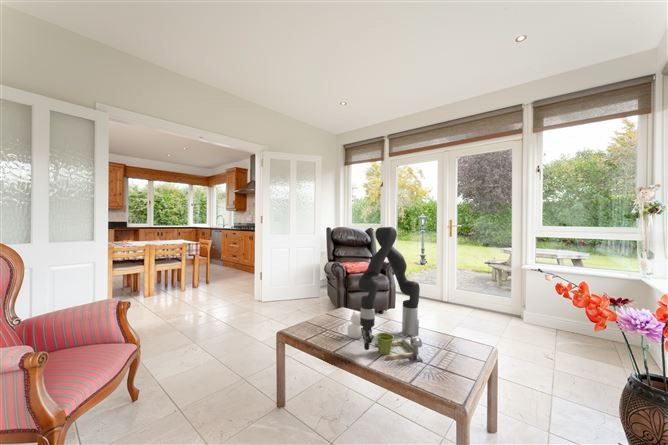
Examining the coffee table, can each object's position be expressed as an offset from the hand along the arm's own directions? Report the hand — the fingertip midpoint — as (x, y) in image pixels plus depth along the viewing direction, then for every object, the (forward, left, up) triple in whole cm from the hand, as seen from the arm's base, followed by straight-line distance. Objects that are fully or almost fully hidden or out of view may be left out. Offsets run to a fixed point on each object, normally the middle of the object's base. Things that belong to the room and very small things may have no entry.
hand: (366, 349), depth 139 cm
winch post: (-22, +10, -3) cm, 24 cm away
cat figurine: (-1, -21, -3) cm, 22 cm away
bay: (-17, 0, -2) cm, 17 cm away
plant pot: (-10, 0, -3) cm, 11 cm away
